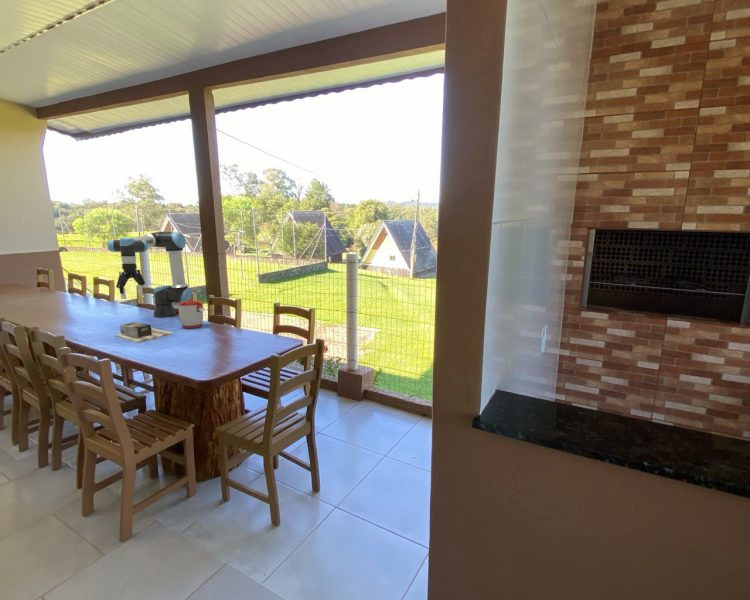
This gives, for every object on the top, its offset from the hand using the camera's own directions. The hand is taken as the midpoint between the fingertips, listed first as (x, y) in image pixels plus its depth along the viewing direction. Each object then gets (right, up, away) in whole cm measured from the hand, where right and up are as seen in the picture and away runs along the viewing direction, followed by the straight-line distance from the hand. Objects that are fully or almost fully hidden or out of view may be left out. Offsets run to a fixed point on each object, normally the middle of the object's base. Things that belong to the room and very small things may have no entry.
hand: (132, 296), depth 236 cm
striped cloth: (+6, -24, +3) cm, 25 cm away
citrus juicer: (+25, -21, +26) cm, 42 cm away
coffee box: (-5, -20, +3) cm, 21 cm away
